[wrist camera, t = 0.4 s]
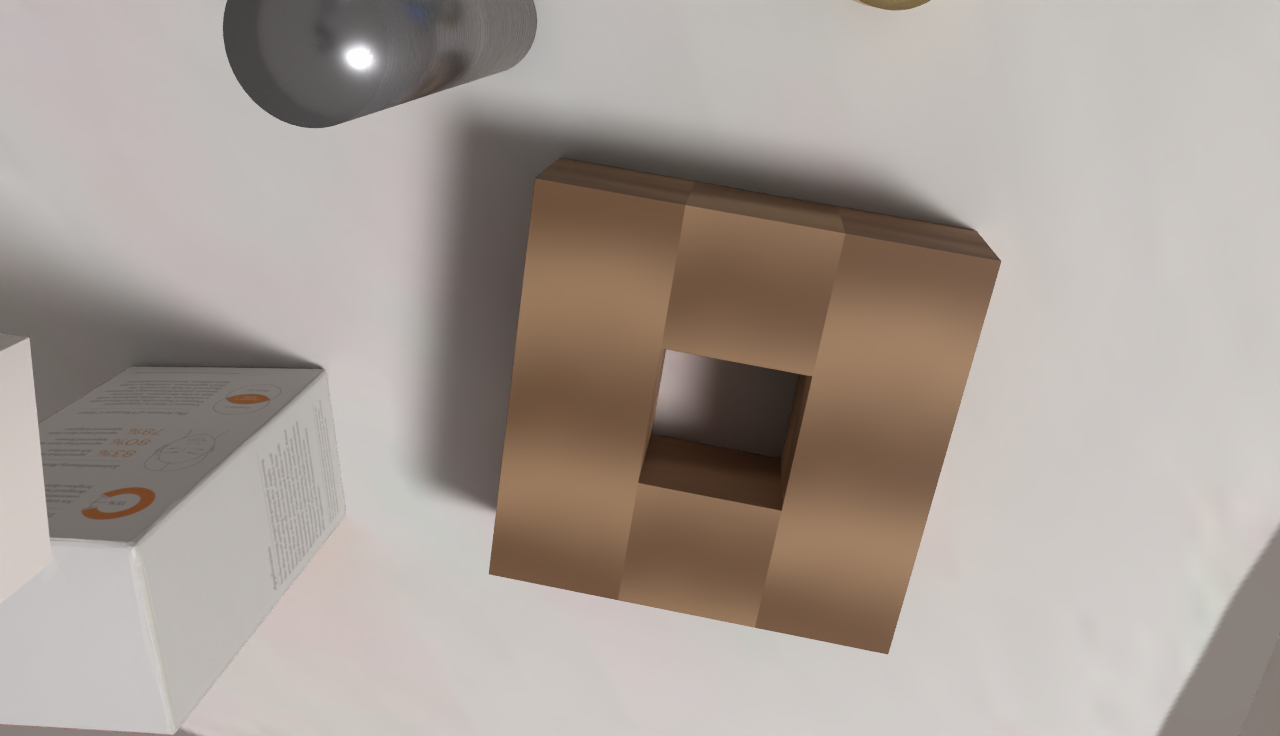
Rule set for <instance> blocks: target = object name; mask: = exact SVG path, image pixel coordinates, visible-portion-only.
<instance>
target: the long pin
mask: <svg viewBox="0 0 1280 736" xmlns="http://www.w3.org/2000/svg"><path fill="white" fill-rule="evenodd" d="M536 28H537V14H536V9H535V5H534V2H533V0H227V3H226V7H225V12H224V21H223V36H224V44H225V50H226V53H227V57H228V60H229V63H230V65H231V68H232V70H233V73H234V74H235V76H236V78H237V80H238V82H239V83H240V85H241V86H242V87H243V89H244V90H245V92H246V93H247V94H248V95H249V96H250V97H251V99H252V100H253V101H254V102H255V103H256V104H258V105H259V106H260V107H261V108H262V109H263V110H265V111H266V112H268V113H269V114H271V115H272V116H274V117H276V118H278V119H280V120H281V121H284V122H287V123H289V124H292V125H296V126H300V127H307V128H324V127H330V126H334V125H337V124H340V123H343V122H347V121H350V120H353V119H356V118H359V117H362V116H365V115H368V114H371V113H375V112H378V111H381V110H384V109H387V108H390V107H393V106H396V105H399V104H403V103H406V102H409V101H412V100H415V99H418V98H421V97H424V96H427V95H431V94H434V93H437V92H440V91H443V90H446V89H449V88H452V87H455V86H459V85H462V84H465V83H468V82H471V81H474V80H477V79H480V78H483V77H487V76H490V75H493V74H496V73H499V72H502V71H505V70H507V69H509V68H512V67H513V66H515V65H516V64H518V63H519V62H520V61H521V60H522V59H523V58H524V57H525V55H526V54H527V53H528V51H529V49H530V48H531V46H532V43H533V41H534V38H535V34H536Z"/></svg>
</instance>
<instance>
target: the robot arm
mask: <svg viewBox="0 0 1280 736" xmlns="http://www.w3.org/2000/svg"><path fill="white" fill-rule="evenodd" d="M51 562H52V557H51V547H50V537H49V527H48V517H47V507H46V497H45V487H44V477H43V468H42V458H41V448H40V438H39V428H38V418H37V408H36V398H35V388H34V378H33V368H32V358H31V348H30V338H29V337H24V336H18V335H12V334H5V333H0V604H1V603H2V602H3V601H4V600H6V599H7V598H8V597H9V596H11V595H12V594H13V593H14V592H16V591H17V590H18V589H19V588H21V587H22V586H23V585H24V584H25V583H27V582H28V581H29V580H30V579H32V578H33V577H34V576H35V575H37V574H38V573H39V572H40V571H42V570H43V569H44V568H45V567H47V566H48V565H49V564H50V563H51ZM1238 736H1280V634H1279V637H1278V639H1277V641H1276V644H1275V646H1274V649H1273V651H1272V654H1271V656H1270V659H1269V661H1268V664H1267V666H1266V668H1265V671H1264V673H1263V676H1262V678H1261V681H1260V683H1259V685H1258V688H1257V690H1256V693H1255V695H1254V698H1253V700H1252V703H1251V705H1250V708H1249V710H1248V713H1247V715H1246V718H1245V720H1244V722H1243V725H1242V727H1241V730H1240V732H1239V734H1238Z"/></svg>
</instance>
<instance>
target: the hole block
mask: <svg viewBox="0 0 1280 736" xmlns="http://www.w3.org/2000/svg"><path fill="white" fill-rule="evenodd" d="M1000 264H1001V260H1000V259H999V258H998V257H997V255H996V254H995V253H994V252H993V251H992V249H991V248H990V247H989V246H988V244H987V243H986V242H985V241H984V240H983V238H982V237H981V236H980V235H979V234H978V232H977V231H973V230H968V229H962V228H956V227H951V226H945V225H939V224H934V223H928V222H922V221H917V220H911V219H905V218H900V217H894V216H888V215H883V214H877V213H871V212H866V211H860V210H854V209H849V208H843V207H837V206H831V205H826V204H820V203H814V202H809V201H803V200H797V199H792V198H786V197H780V196H775V195H769V194H763V193H758V192H752V191H746V190H741V189H735V188H729V187H724V186H718V185H712V184H707V183H701V182H695V181H690V180H684V179H678V178H673V177H667V176H661V175H656V174H650V173H644V172H639V171H633V170H627V169H622V168H616V167H610V166H605V165H599V164H593V163H587V162H582V161H576V160H570V159H565V158H559V159H558V160H557V161H556V162H555V163H553V164H552V165H551V166H550V167H548V168H547V169H546V170H545V171H544V172H542V173H541V174H540V175H539V176H537V177H536V178H535V184H534V192H533V201H532V209H531V218H530V226H529V235H528V243H527V252H526V261H525V269H524V278H523V286H522V295H521V303H520V312H519V320H518V329H517V338H516V346H515V355H514V363H513V372H512V380H511V389H510V398H509V406H508V415H507V423H506V432H505V440H504V449H503V457H502V466H501V475H500V483H499V492H498V500H497V509H496V517H495V526H494V534H493V543H492V552H491V560H490V569H489V574H491V575H496V576H501V577H506V578H511V579H516V580H521V581H526V582H531V583H536V584H541V585H546V586H551V587H556V588H561V589H566V590H571V591H575V592H580V593H585V594H590V595H595V596H600V597H605V598H610V599H615V600H620V601H625V602H630V603H635V604H640V605H645V606H650V607H655V608H660V609H665V610H670V611H675V612H680V613H685V614H690V615H695V616H700V617H705V618H710V619H715V620H720V621H725V622H730V623H735V624H740V625H745V626H750V627H755V628H760V629H765V630H770V631H775V632H780V633H785V634H790V635H795V636H800V637H805V638H810V639H815V640H820V641H825V642H830V643H835V644H840V645H844V646H849V647H854V648H859V649H864V650H869V651H874V652H879V653H884V654H888V653H889V649H890V646H891V642H892V639H893V635H894V632H895V628H896V625H897V622H898V618H899V615H900V611H901V608H902V604H903V601H904V597H905V594H906V590H907V587H908V583H909V580H910V576H911V573H912V569H913V566H914V562H915V559H916V556H917V552H918V549H919V545H920V542H921V538H922V535H923V531H924V528H925V524H926V521H927V517H928V514H929V510H930V507H931V503H932V500H933V496H934V493H935V490H936V486H937V483H938V479H939V476H940V472H941V469H942V465H943V462H944V458H945V455H946V451H947V448H948V444H949V441H950V437H951V434H952V431H953V427H954V424H955V420H956V417H957V413H958V410H959V406H960V403H961V399H962V396H963V392H964V389H965V385H966V382H967V378H968V375H969V371H970V368H971V365H972V361H973V358H974V354H975V351H976V347H977V344H978V340H979V337H980V333H981V330H982V326H983V323H984V319H985V316H986V312H987V309H988V306H989V302H990V299H991V295H992V292H993V288H994V285H995V281H996V278H997V274H998V271H999V267H1000ZM666 349H668V350H673V351H678V352H684V353H689V354H695V355H700V356H705V357H711V358H716V359H721V360H727V361H732V362H738V363H743V364H748V365H754V366H759V367H764V368H770V369H775V370H781V371H786V372H791V373H797V374H800V376H799V381H798V385H797V390H796V394H795V398H794V403H793V407H792V412H791V416H790V421H789V425H788V430H787V434H786V439H785V443H784V447H783V452H782V456H781V459H778V458H773V457H768V456H762V455H757V454H752V453H747V452H741V451H736V450H731V449H726V448H721V447H715V446H710V445H705V444H700V443H694V442H689V441H684V440H679V439H673V438H668V437H663V436H658V435H652V434H651V433H652V427H653V421H654V416H655V410H656V404H657V398H658V393H659V387H660V381H661V375H662V369H663V364H664V358H665V352H666Z"/></svg>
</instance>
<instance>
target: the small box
mask: <svg viewBox="0 0 1280 736" xmlns="http://www.w3.org/2000/svg"><path fill="white" fill-rule="evenodd" d="M38 428H39V438H40V448H41V458H42V468H43V477H44V487H45V497H46V507H47V517H48V527H49V537H50V547H51V557H52V562H51V563H50V564H49V565H48V566H47V567H45V568H44V569H43V570H42V571H40V572H39V573H38V574H37V575H35V576H34V577H33V578H32V579H30V580H29V581H28V582H27V583H25V584H24V585H23V586H22V587H21V588H19V589H18V590H17V591H16V592H14V593H13V594H12V595H11V596H9V597H8V598H7V599H6V600H4V601H3V602H2V603H1V604H0V725H14V726H32V727H48V728H65V729H84V730H100V731H115V732H132V733H148V734H165V735H173V734H174V733H175V732H176V731H177V730H178V729H179V727H180V726H181V725H182V724H183V722H184V721H185V720H186V718H187V717H188V716H189V715H190V713H191V712H192V711H193V709H194V708H195V707H196V706H197V704H198V703H199V702H200V701H201V699H202V698H203V697H204V696H205V694H206V693H207V692H208V690H209V689H210V688H211V687H212V685H213V684H214V683H215V682H216V680H217V679H218V678H219V677H220V675H221V674H222V673H223V671H224V670H225V669H226V668H227V666H228V665H229V664H230V662H231V661H232V660H233V658H234V657H235V656H236V655H237V653H238V652H239V651H240V649H241V648H242V647H243V646H244V644H245V643H246V642H247V641H248V639H249V638H250V637H251V636H252V634H253V633H254V632H255V630H256V629H257V628H258V627H259V625H260V624H261V623H262V621H263V620H264V619H265V618H266V616H267V615H268V614H269V612H270V611H271V610H272V609H273V607H274V606H275V605H276V604H277V602H278V601H279V600H280V599H281V597H282V596H283V595H284V593H285V592H286V591H287V590H288V588H289V587H290V586H291V585H292V583H293V582H294V581H295V580H296V578H297V577H298V576H299V574H300V573H301V572H302V571H303V569H304V568H305V567H306V565H307V564H308V563H309V562H310V560H311V559H312V558H313V556H314V555H315V554H316V552H317V551H318V550H319V549H320V547H321V546H322V545H323V544H324V542H325V541H326V540H327V538H328V537H329V536H330V535H331V533H332V532H333V531H334V530H335V528H336V527H337V526H338V524H339V523H340V522H341V520H342V519H343V518H344V516H345V511H346V506H345V500H344V493H343V487H342V480H341V472H340V465H339V459H338V452H337V445H336V437H335V429H334V421H333V415H332V407H331V400H330V394H329V388H328V380H327V373H326V371H325V370H323V369H285V368H223V367H129V368H128V369H126V370H124V371H123V372H121V373H120V374H118V375H117V376H115V377H114V378H112V379H110V380H109V381H107V382H105V383H104V384H102V385H100V386H99V387H97V388H95V389H94V390H92V391H90V392H89V393H87V394H86V395H84V396H83V397H81V398H80V399H78V400H76V401H75V402H73V403H71V404H70V405H68V406H67V407H65V408H63V409H62V410H60V411H58V412H57V413H55V414H53V415H52V416H50V417H48V418H47V419H45V420H43V421H42V422H40V423H39V424H38Z"/></svg>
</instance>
